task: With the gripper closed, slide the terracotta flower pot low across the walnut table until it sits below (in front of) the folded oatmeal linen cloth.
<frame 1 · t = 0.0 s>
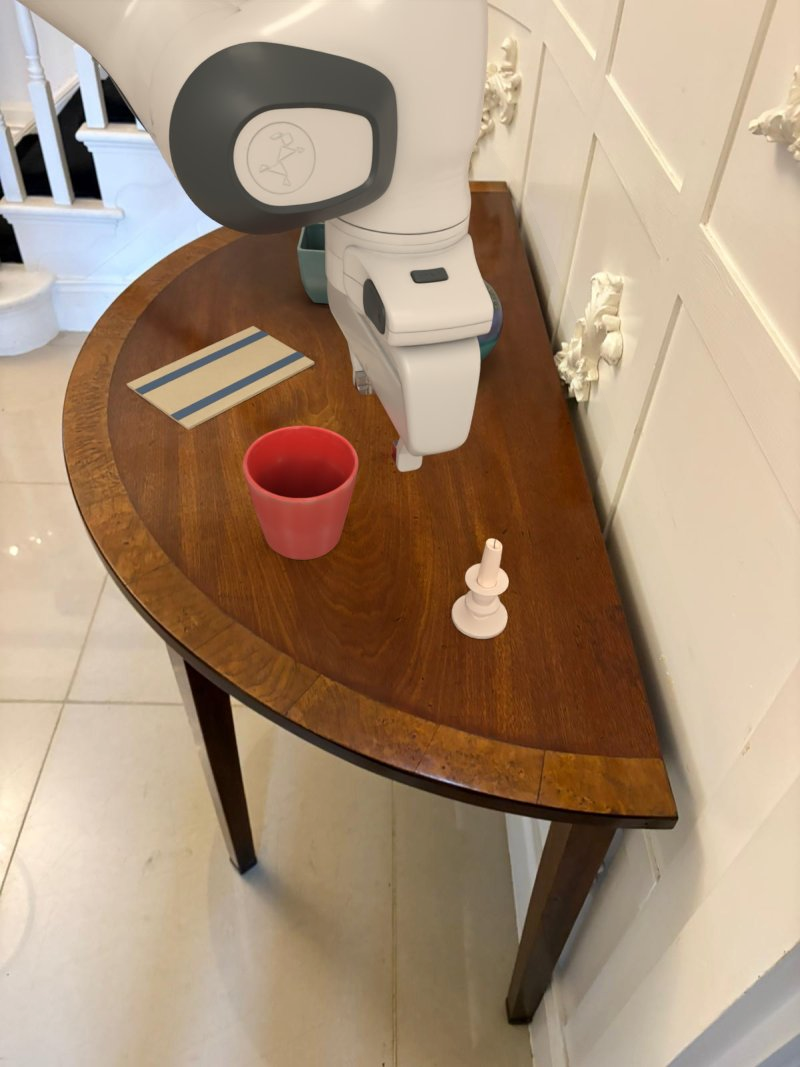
hand: (385, 425, 59), 21 cm above the table, tool pointing down, fingers open, 8 cm apart
flower pot: (304, 534, 80), on the table
cloth: (223, 375, 99), on the table
candle: (478, 618, 74), on the table
flower pot 2: (332, 298, 114), on the table
vase: (438, 359, 104), on the table
brown flask: (377, 246, 127), on the table
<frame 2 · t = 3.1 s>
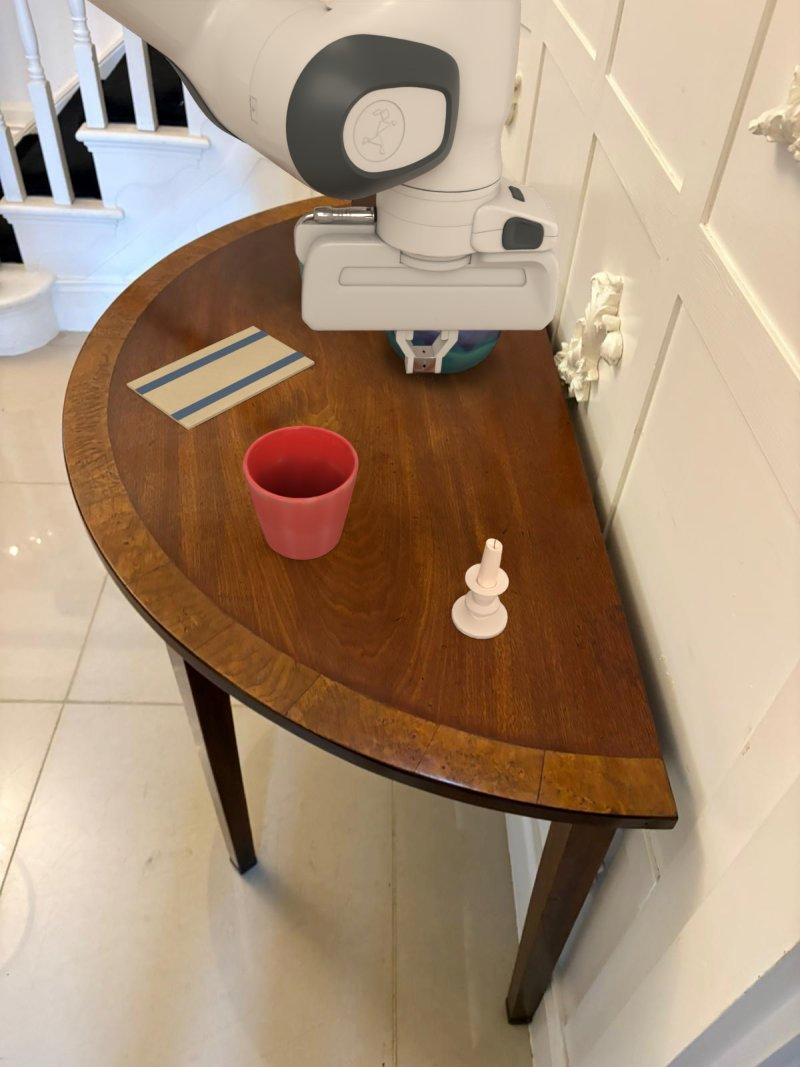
hand: (422, 369, 67), 19 cm above the table, tool pointing down, fingers closed
nothing on the table moved.
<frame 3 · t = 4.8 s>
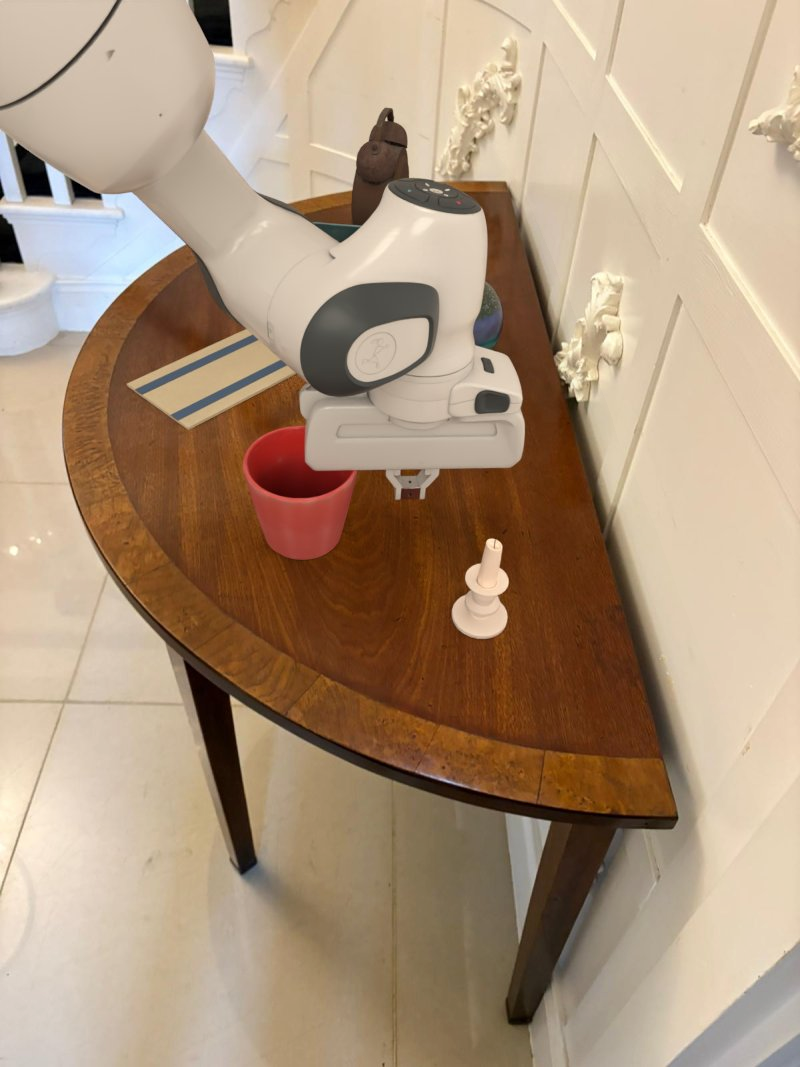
hand: (408, 495, 77), 5 cm above the table, tool pointing down, fingers closed
nothing on the table moved.
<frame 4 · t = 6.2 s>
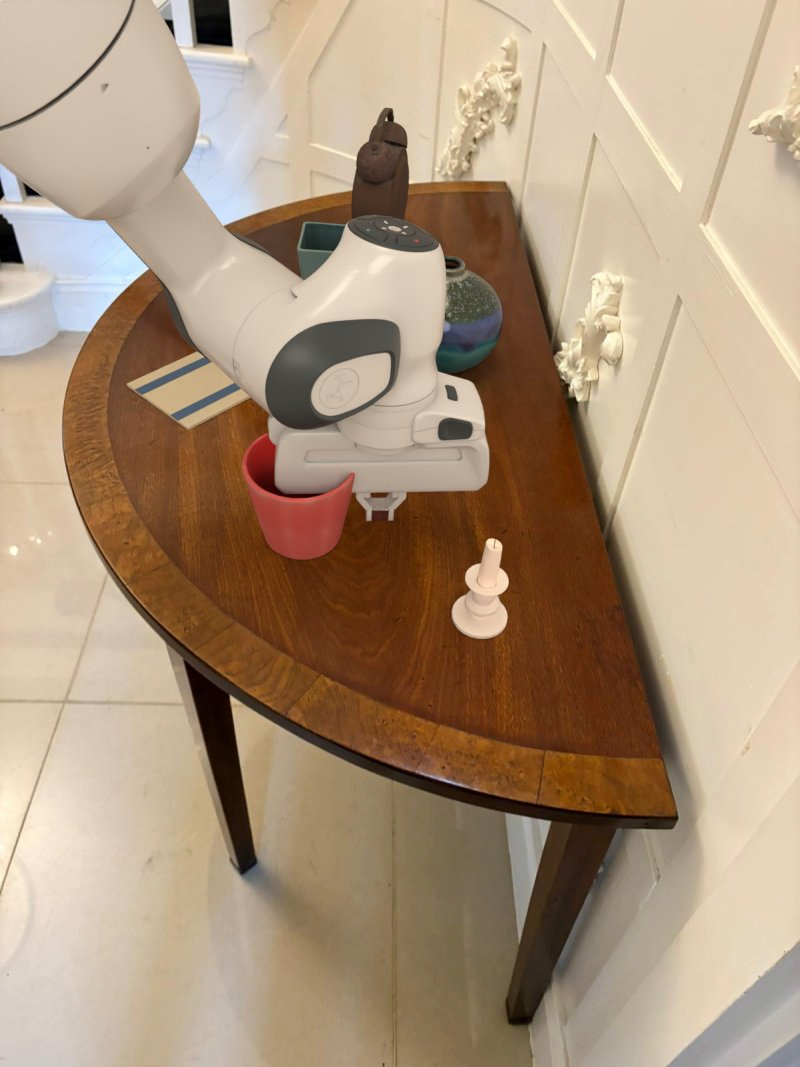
hand: (378, 516, 79), 2 cm above the table, tool pointing down, fingers closed
flower pot: (304, 534, 80), on the table, touching gripper
everything else where it was.
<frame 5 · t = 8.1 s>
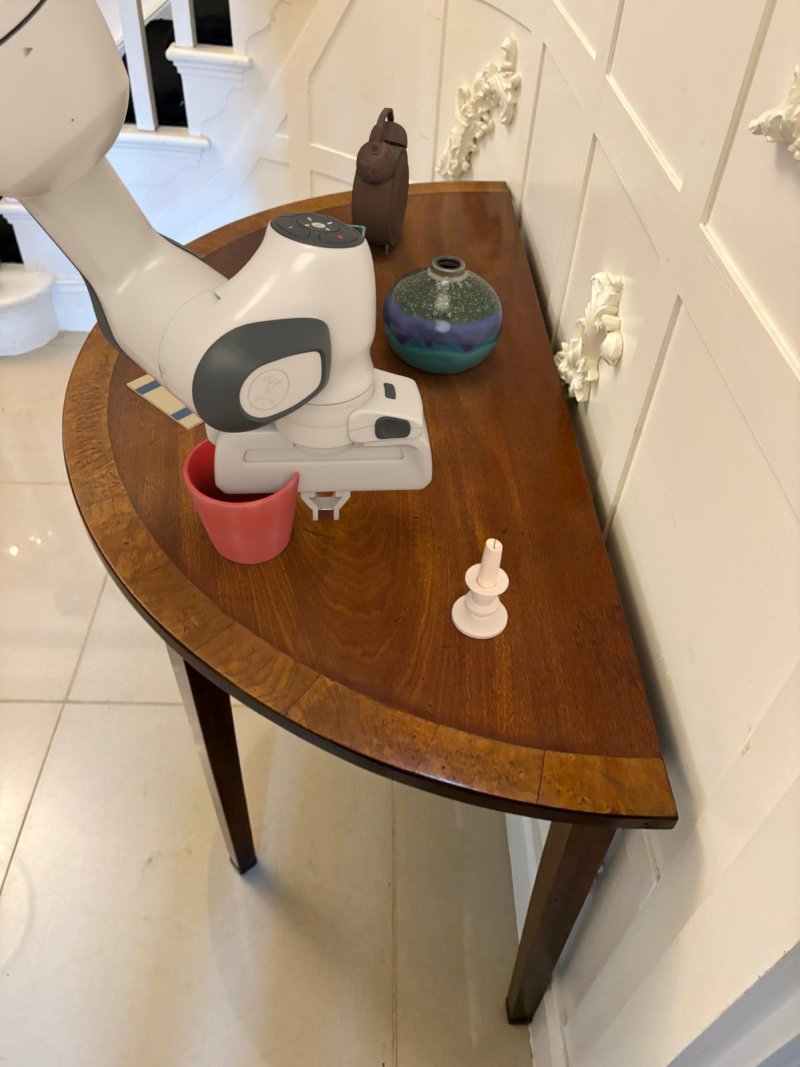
hand: (325, 516, 78), 2 cm above the table, tool pointing down, fingers closed
flower pot: (253, 538, 79), on the table, touching gripper
everything else where it was.
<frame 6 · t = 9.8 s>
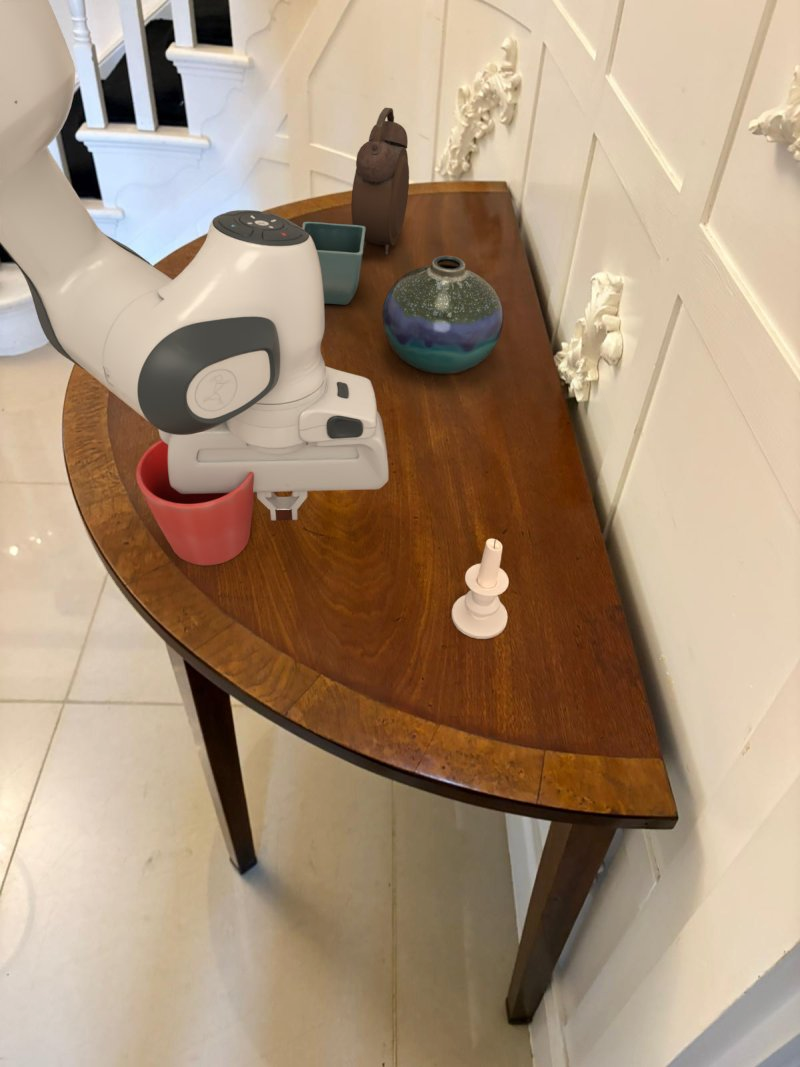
hand: (284, 516, 78), 2 cm above the table, tool pointing down, fingers closed
flower pot: (212, 539, 79), on the table, touching gripper
everything else where it was.
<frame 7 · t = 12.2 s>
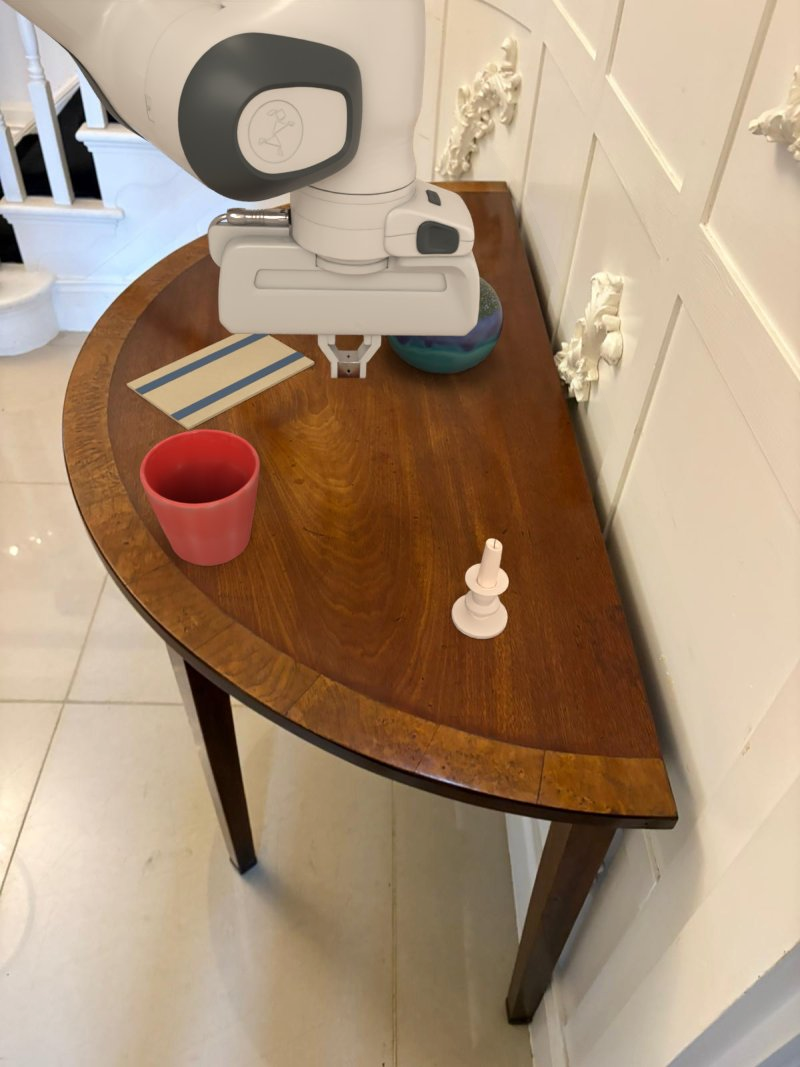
hand: (347, 374, 66), 19 cm above the table, tool pointing down, fingers closed
flower pot: (212, 540, 79), on the table
everything else where it was.
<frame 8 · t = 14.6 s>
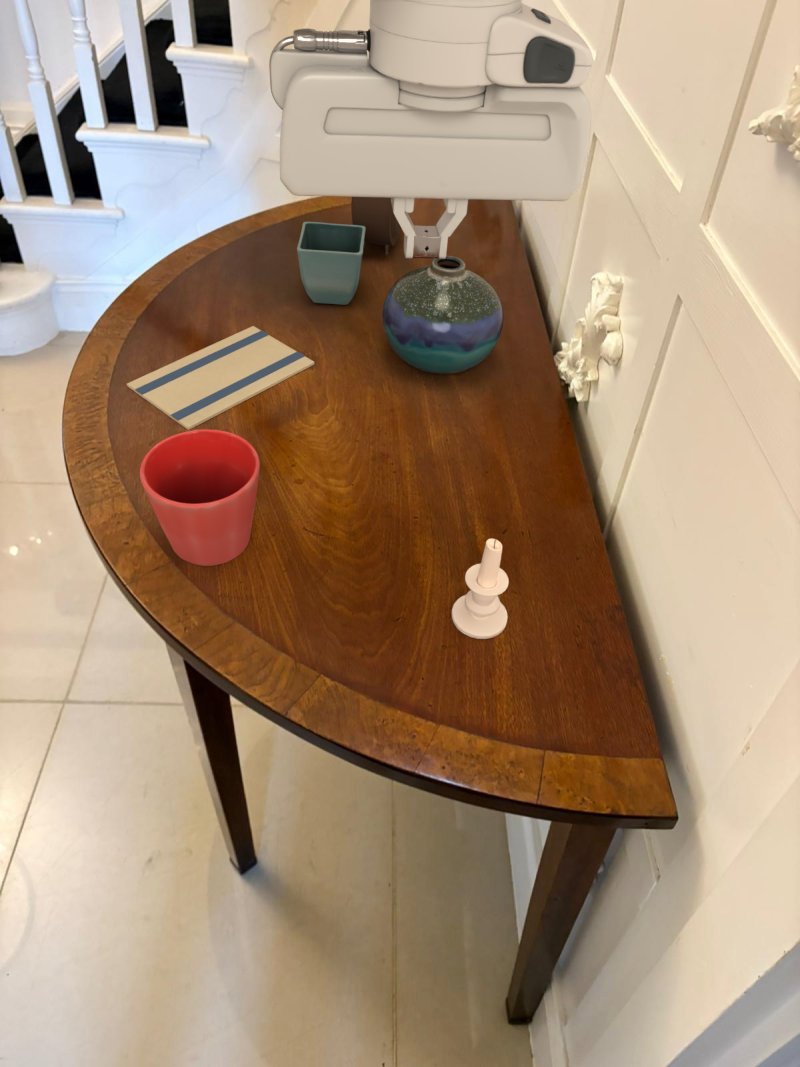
hand: (424, 255, 57), 31 cm above the table, tool pointing down, fingers closed
nothing on the table moved.
at the end: flower pot inside the target area on the table beside the cloth (0.1 cm from its centre), on the table; flower pot tilted 0° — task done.
